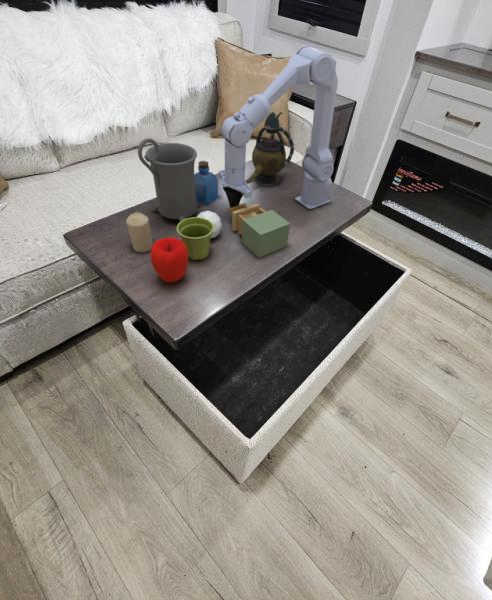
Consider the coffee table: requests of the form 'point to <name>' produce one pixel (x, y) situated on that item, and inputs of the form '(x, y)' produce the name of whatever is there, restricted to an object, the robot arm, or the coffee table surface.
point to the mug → (172, 177)
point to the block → (249, 215)
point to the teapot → (270, 153)
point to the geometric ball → (214, 219)
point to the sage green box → (265, 233)
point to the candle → (139, 232)
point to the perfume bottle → (205, 184)
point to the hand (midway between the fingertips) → (234, 208)
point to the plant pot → (196, 236)
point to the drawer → (241, 210)
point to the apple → (169, 258)
